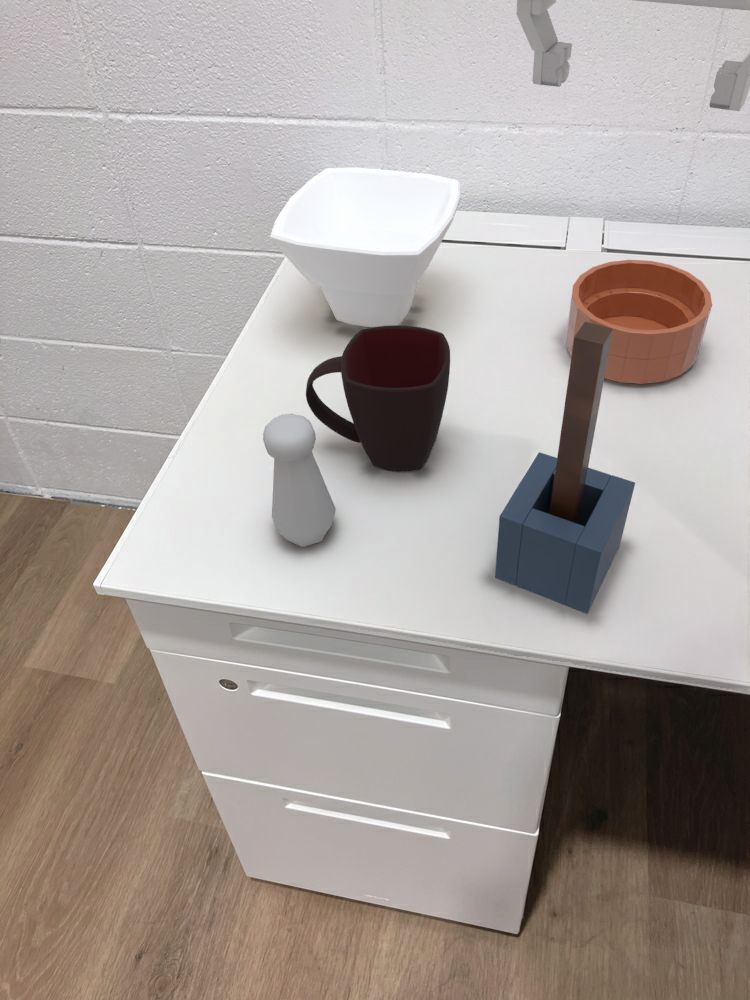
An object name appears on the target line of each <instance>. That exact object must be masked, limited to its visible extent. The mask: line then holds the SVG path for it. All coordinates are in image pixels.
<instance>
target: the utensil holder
mask: <svg viewBox="0 0 750 1000" xmlns="http://www.w3.org/2000/svg"><path fill="white" fill-rule="evenodd" d="M556 463H557V457H556V456H552V455H550V454H547V453H543V452H541V451H539V452H538V453H537V455H535V458H534V459H533V461H532V463H531V464H530V466H529V467H528V469H527V471H526V472H525V474H524V476H523V477H522V479H521V480H520V482H519V484H518V486H517V487H516V489H515V490H514V492H513V493H512V495H511V496H510V498H509V500H508V502H507V503H506V505H505V506H504V508H503V510H502V511H501V513H500V515H499V521H498V530H497V531H498V532H497V547H496V558H495V559H496V560H495V570H494V571H495V572H494V578H495V579H496V580H497V579H498V580H500V581H503V582H505V583H508V584H509V585H513V586H516V587H518V588H521V589H523V590H525V591H528V592H530V593H533V594H536V595H538V596H540V597H543V598H546V599H548V600H551V601H554V602H556V603H559V604H562V605H564V606H566V607H568V608H571V609H574V610H576V611H579V612H581V613H584V614H589V613H590V610H591V609H592V606H593V604H594V601H595V599H596V597H597V595H598V593H599V591H600V589H601V586H602V584H603V582H604V580H605V578H606V576H607V573H608V571H609V570H610V567H611V565H612V564H613V561H614V559H615V557H616V554H617V553H618V551H619V548H620V547H621V546H620V545H621V542H622V539H623V535H624V531H625V526H626V522H627V519H628V514H629V510H630V506H631V502H632V498H633V495H634V494H633V493H634V490H635V485H636V482H635V481H632V480H628V479H626V478H623V477H619V476H616V475H613V474H612V475H611V474H610V473H607V472H603V471H600V470H597V469H594V468H591V467H588V471H587V476H586V482H585V487H584V493H583V498H582V504H581V509H580V515H579V520H578V524H576V523H573V522H571V521H568V520H565V519H562V518H559V517H556V516H553V515H550V514H549V513H550V506H551V499H552V492H553V485H554V478H555V470H556Z"/></svg>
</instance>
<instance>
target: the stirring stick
mask: <svg viewBox="0 0 750 1000" xmlns="http://www.w3.org/2000/svg"><path fill="white" fill-rule="evenodd" d="M612 333H613V328H609V327H605V326H601V325H597V324H593V323H589V322H584V323H583V325H582V326H581V328H580V329H579V331H578V332H577V334H576V335H575V337H574V343H573V350H572V357H571V356H570V357H571V358H570V363H569V364H570V365H569V370H568V371H569V372H568V379H567V385H566V393H565V401H564V407H563V416H562V421H561V428H560V429H561V430H560V435H559V443H558V450H557V457H556V458H557V463H556V470H555V478H554V485H553V492H552V499H551V506H550V513H549V514H550V515H553V516H556V517H559V518H562V519H565V520H568V521H571V522H573V523H576V524H578V520H579V515H580V509H581V504H582V498H583V493H584V487H585V482H586V476H587V471H588V468H589V466H590V465H589V464H590V459H591V454H592V448H593V442H594V438H595V433H596V426H597V420H598V416H599V409H600V404H601V399H602V393H603V388H604V383H605V378H604V377H605V372H606V366H607V360H608V355H609V349H610V344H611V338H612Z"/></svg>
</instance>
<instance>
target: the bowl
mask: <svg viewBox="0 0 750 1000" xmlns="http://www.w3.org/2000/svg"><path fill="white" fill-rule="evenodd" d="M460 201H461V182H460V181H459V180H458V179H453V178H450V177H445V176H441V175H436V174H431V173H421V172H420V173H419V172H411V171H402V170H401V171H400V170H390V169H382V168H381V169H379V168H368V167H356V166H355V167H327V168H325V169H324V170H323V169H322V171H321V172H319V173H318V174H316V175H315V176H312V177H311V178H310V179H308V180H307V182H306V183H305V184H303V185H302V186H301V187H300V188H299V189H298V190H297V191H296V192H295V193H294V194H293V195H292V196H291V197H290V198H289V199H288V200H287V202H286V203H285V205H284V207H283V208H282V210H281V211H280V212H279V214H278V215H277V217H275V221H274V223H273V226H272V229H271V232H270V235H269V237H270V241H271V242H272V243H273V245H275V246H276V248H277V249H278V250H279V251H280V252H281V253H282V254H283V256H284V257H285V258H287V260H288V261H289V262H290V263H291V264H292V265H293V266H294V267H295V268H296V270H297V271H298V272H299V273H300V274H301V275H302V276H303V277H304V278H305V279H306V281H307V282H308V283H310V284H313V285H316V286H319V287H320V289H321V290H322V293H323V296H324V297H325V300H326V301H327V303H328V305H329V307H330V310H331V311H332V314H333V316H334V318H335V319H336V321H339V322H341V323H345V324H347V325H352V326H359V327H364V328H365V327H366V328H372V327H378V326H391V325H401V323H402V322H403V321H404V319H405V318H406V316H407V315H408V314H409V312H410V310H411V307H412V305H413V302H414V298H415V295H416V291H417V288H418V283H419V281H420V279H421V278H422V277H423V275H424V274H425V272H426V271H427V270H428V268H429V266H430V265H431V262H432V260H433V258H434V256H435V255H436V253H437V251H438V249H439V247H440V245H441V244H442V241H443V240H444V238H445V236H446V234H447V233H448V231H449V229H450V227H451V225H452V223H453V221H454V218H455V215H456V212H457V210H458V207H459V205H460Z"/></svg>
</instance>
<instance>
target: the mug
mask: <svg viewBox="0 0 750 1000" xmlns="http://www.w3.org/2000/svg"><path fill="white" fill-rule="evenodd" d="M447 339H448V338H446V336H445V334H444V333H442V332H439V331H437V330H435V329H431V328H427V327H421V326H415V325H401V324H399V325H391V326H378V327H366V328H362V329H360V330H359V331H358V332H356V334H354V335H353V337H352V338H351V339H349V342H348V343H347V344H346V346H345V347H344V349H343V352H342V355H340V356H334V357H331V358H328V359H326V360H324V361H322V362H321V363H319V364H317V366H315V367H314V369H313V370H312V371H311V373H310V374H309V376H308V378H307V381H306V388H305V399H306V402H307V405H308V407H309V409H310V410H311V412H312V414H313V415H314V416H315V418H316V419H318V420H319V421H320V422H321V423H322V424H323V425H324V426H326V428H328V429H330V430H331V431H333V432H334V433H336V434H338V435H339V436H341V437H343V438H344V439H347V440H349V441H351V442H354V443H358V444H361V446H362V448H363V451H364V452H365V454H366V456H367V458H368V459H369V461H370V463H371V464H372V466H373V467H375V468H377V469H380V470H383V471H387V472H394V473H395V472H396V473H407V472H415V471H420V470H422V468H424V466H425V465H426V463H427V462H428V460H429V458H430V455H431V453H432V450H433V448H434V446H435V443H436V441H437V437H438V433H439V431H440V427H441V423H442V420H443V419H442V418H443V414H444V411H445V410H444V409H445V405H446V400H447V395H448V391H449V384H450V383H449V381H450V373H451V372H450V371H451V349H450V345H449V342H448V340H447ZM335 373H340V375H341V381H342V386H343V392H344V397H345V400H346V404H347V407H348V411H349V414H350V416H351V419H352V420H351V421H350V420H348V419H346V418H345V417H342V415H340V414H338V413H336V412H335V411H334V410H333V409H331V408H330V407H329V406H328V405H327V404H326V403H324V402H323V400H322V399H321V398H320V397H319V395H318V393H317V392H316V390H315V388H314V382H315V380H317V379H318V378H321V377H323V376H325V375H329V374H335Z"/></svg>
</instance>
